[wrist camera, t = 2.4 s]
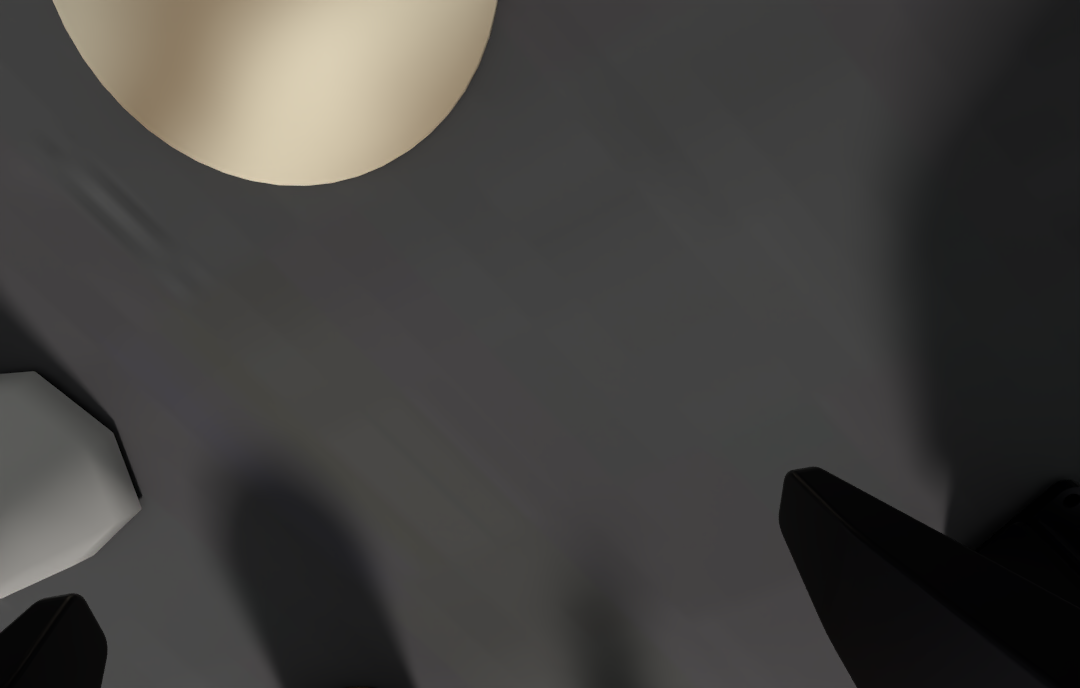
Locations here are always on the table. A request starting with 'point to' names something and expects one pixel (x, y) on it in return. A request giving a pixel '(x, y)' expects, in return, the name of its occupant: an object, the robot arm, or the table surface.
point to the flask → (55, 482)
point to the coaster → (284, 76)
